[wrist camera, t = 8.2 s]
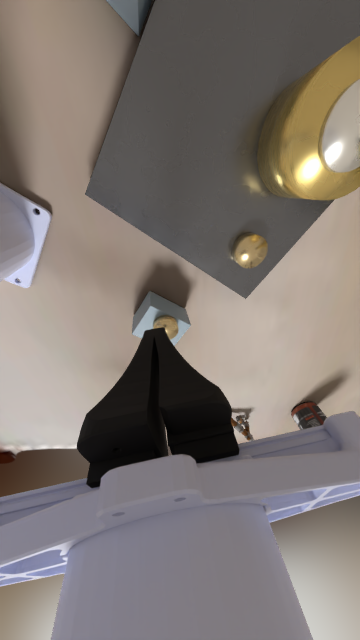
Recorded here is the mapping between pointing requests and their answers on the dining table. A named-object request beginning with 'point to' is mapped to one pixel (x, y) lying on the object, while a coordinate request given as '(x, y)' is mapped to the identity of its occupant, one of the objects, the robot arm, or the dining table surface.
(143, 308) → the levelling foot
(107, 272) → the dining table surface
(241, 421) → the brown angled frame
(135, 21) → the block with brass knob
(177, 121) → the base
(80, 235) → the dining table surface
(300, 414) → the supplement bottle
